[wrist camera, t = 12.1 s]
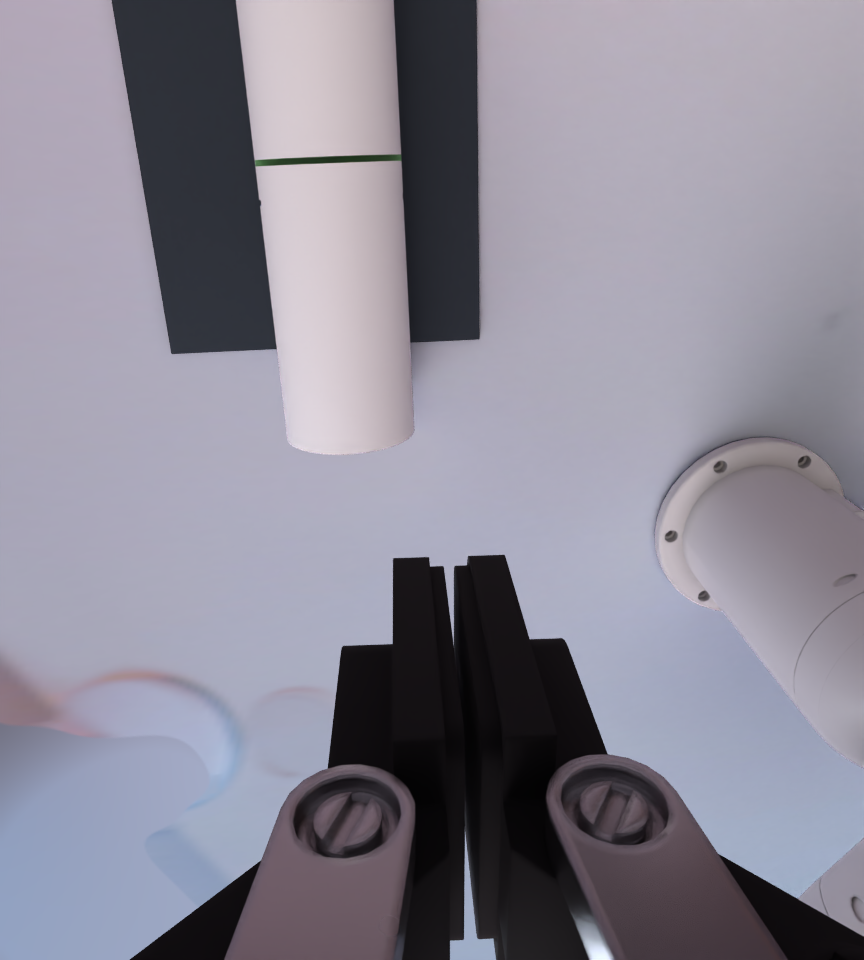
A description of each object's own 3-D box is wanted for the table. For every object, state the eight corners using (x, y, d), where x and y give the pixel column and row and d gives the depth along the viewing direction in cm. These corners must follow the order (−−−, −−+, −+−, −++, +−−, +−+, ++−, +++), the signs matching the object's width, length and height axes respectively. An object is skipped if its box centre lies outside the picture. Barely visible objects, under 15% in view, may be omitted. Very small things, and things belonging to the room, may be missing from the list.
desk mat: (474, -65, 37) (475, -67, 37) (478, 337, 45) (479, 339, 45) (104, -57, 36) (101, -59, 36) (173, 352, 44) (171, 354, 44)
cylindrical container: (229, -85, 36) (288, 418, 45) (214, -142, 29) (286, 460, 39) (379, -84, 37) (405, 408, 46) (397, -139, 30) (423, 447, 40)
